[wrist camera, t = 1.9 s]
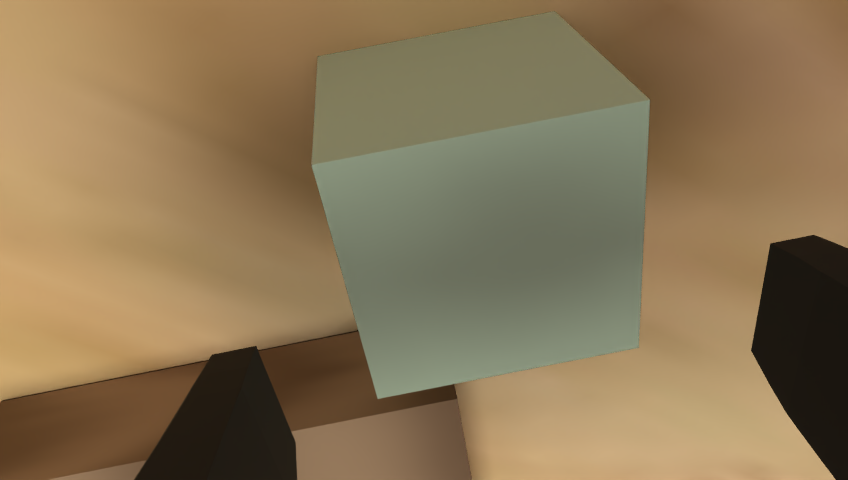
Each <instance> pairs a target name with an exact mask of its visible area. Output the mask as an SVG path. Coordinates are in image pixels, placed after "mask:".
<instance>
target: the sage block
mask: <svg viewBox="0 0 848 480" xmlns="http://www.w3.org/2000/svg"><path fill="white" fill-rule="evenodd" d="M649 111H650V99H649V98H648V97H646V96H645V95H644V94H643V93H642V92H641V91H640V90H639V89H638V88H637V87H636V86H635V85H634V84H633V83H631V82H630V81H629V80H628V79H627V78H626V77H625V76H624V75H623V74H622V73H621V72H620V71H619V70H617V69H616V68H615V67H614V66H613V65H612V64H611V63H610V62H609V61H608V60H607V59H606V58H605V57H604V56H602V55H601V54H600V53H599V52H598V51H597V50H596V49H595V48H594V47H593V46H592V45H591V44H590V43H588V42H587V41H586V40H585V39H584V38H583V37H582V36H581V35H580V34H579V33H578V32H577V31H576V30H574V29H573V28H572V27H571V26H570V25H569V24H568V23H567V22H566V21H565V20H564V19H563V18H562V17H561V16H559V15H558V14H557V13H556V12H555V11H553V12H548V13H542V14H537V15H532V16H527V17H521V18H516V19H511V20H506V21H500V22H495V23H490V24H485V25H479V26H474V27H469V28H464V29H458V30H453V31H448V32H443V33H438V34H432V35H427V36H422V37H417V38H411V39H406V40H401V41H396V42H390V43H385V44H380V45H375V46H369V47H364V48H359V49H354V50H348V51H343V52H338V53H333V54H327V55H322V56H318V60H317V77H316V95H315V112H314V130H313V147H312V169H313V172H314V176H315V179H316V183H317V186H318V190H319V193H320V197H321V200H322V204H323V207H324V211H325V214H326V218H327V222H328V225H329V229H330V232H331V236H332V239H333V243H334V246H335V250H336V253H337V257H338V260H339V264H340V267H341V271H342V275H343V278H344V282H345V285H346V289H347V292H348V296H349V299H350V303H351V306H352V310H353V313H354V317H355V320H356V324H357V328H358V331H359V335H360V338H361V342H362V345H363V349H364V352H365V356H366V359H367V363H368V366H369V370H370V373H371V377H372V381H373V384H374V388H375V391H376V395H377V398H378V399H380V398H385V397H390V396H396V395H401V394H406V393H411V392H416V391H421V390H426V389H431V388H436V387H441V386H446V385H451V384H457V383H462V382H467V381H472V380H477V379H482V378H487V377H492V376H497V375H502V374H507V373H512V372H518V371H523V370H528V369H533V368H538V367H543V366H548V365H553V364H558V363H563V362H568V361H573V360H579V359H584V358H589V357H594V356H599V355H604V354H609V353H614V352H619V351H624V350H629V349H634V348H639V330H640V308H641V286H642V264H643V242H644V220H645V199H646V177H647V155H648V133H649Z"/></svg>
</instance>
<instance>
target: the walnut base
mask: <svg viewBox="0 0 848 480" xmlns="http://www.w3.org/2000/svg"><path fill="white" fill-rule="evenodd" d="M258 352H259V354H260V357H261V359H262V361H263V364H264V366H265V369H266V371H267V374H268V376H269V379H270V381H271V383H272V386H273V388H274V391H275V393H276V396H277V398H278V400H279V403H280V405H281V408H282V410H283V413H284V415H285V418H286V420H287V422H288V425H289V427H290V430H291V432H292V435H293V437H294V439H295V442H296V462H297V480H472V478H471V472H470V467H469V461H468V456H467V450H466V445H465V439H464V434H463V429H462V423H461V418H460V412H459V407H458V401H457V396H456V391H455V387H454V384H451V385H446V386H441V387H436V388H431V389H426V390H421V391H416V392H411V393H406V394H401V395H396V396H390V397H385V398H380V399H378V398H377V395H376V391H375V388H374V384H373V381H372V377H371V373H370V370H369V366H368V363H367V359H366V356H365V352H364V349H363V345H362V342H361V338H360V335H359V331H358V332H353V333H348V334H343V335H338V336H333V337H328V338H323V339H317V340H312V341H307V342H302V343H297V344H292V345H287V346H282V347H277V348H272V349H266V350H261V351H258ZM207 362H208V361H205V362H200V363H195V364H190V365H185V366H180V367H175V368H170V369H164V370H159V371H154V372H149V373H144V374H139V375H134V376H129V377H124V378H119V379H113V380H108V381H103V382H98V383H93V384H88V385H83V386H78V387H73V388H67V389H62V390H57V391H52V392H47V393H42V394H37V395H32V396H27V397H22V398H16V399H11V400H6V401H1V403H0V480H134V479H135V477H136V476H137V474H138V472H139V471H140V469H141V468H142V466H143V465H144V463H145V462H146V460H147V459H148V457H149V455H150V454H151V452H152V451H153V449H154V448H155V446H156V445H157V443H158V441H159V440H160V438H161V436H162V435H163V433H164V432H165V430H166V428H167V427H168V425H169V424H170V422H171V420H172V419H173V417H174V415H175V414H176V412H177V410H178V409H179V407H180V406H181V404H182V402H183V401H184V399H185V397H186V396H187V394H188V392H189V391H190V389H191V387H192V386H193V384H194V382H195V381H196V379H197V378H198V376H199V374H200V373H201V371H202V369H203V368H204V366H205V365H206V363H207Z"/></svg>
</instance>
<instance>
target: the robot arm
mask: <svg viewBox="0 0 848 480" xmlns="http://www.w3.org/2000/svg"><path fill="white" fill-rule="evenodd" d="M751 351H752V353H753V355H754V357H755V358H756V360H757V362H758V364H759V366H760V368H761V369H762V371H763V373H764V375H765V377H766V379H767V381H768V382H769V384H770V386H771V388H772V389H773V391H774V393H775V394H776V396H777V398H778V399H779V401H780V403H781V405H782V406H783V408H784V410H785V411H786V413H787V414H788V416H789V417H790V419H791V420H792V421H793V423H794V424H795V426H796V427H797V428H798V430H799V431H800V432H801V434H802V435H803V436H804V438H805V439H806V440H807V442H808V443H809V444H810V446H811V447H812V448H813V450H814V451H815V452H816V454H817V455H818V457H819V458H820V459H821V461H822V462H823V463H824V465H825V466H826V467H827V469H828V470H829V471H830V472H831V474H832V475H833V476H834V478H835V479H836V480H848V248H845V247H843V246H840V245H838V244H836V243H833V242H831V241H828V240H826V239H823V238H820V237H818V236H815V235H811V236H806V237H801V238H796V239H791V240H786V241H781V242H776V243H771V244H770V249H769V255H768V261H767V266H766V272H765V277H764V283H763V288H762V294H761V299H760V305H759V310H758V316H757V321H756V327H755V333H754V338H753V344H752V349H751ZM134 480H297V462H296V442H295V439H294V437H293V435H292V432H291V430H290V427H289V425H288V422H287V420H286V418H285V415H284V413H283V410H282V408H281V405H280V403H279V400H278V398H277V396H276V393H275V391H274V388H273V386H272V383H271V381H270V379H269V376H268V374H267V371H266V369H265V366H264V364H263V361H262V359H261V357H260V354H259V352H258V349H257V347H256V346H254V347H249V348H244V349H239V350H234V351H229V352H224V353H219V354H214V355H212V356H211V357H210V359H209V360H208V362H207V363H206V365H205V366H204V368H203V369H202V371H201V373H200V374H199V376H198V378H197V379H196V381H195V382H194V384H193V386H192V387H191V389H190V391H189V392H188V394H187V396H186V397H185V399H184V401H183V402H182V404H181V406H180V407H179V409H178V410H177V412H176V414H175V415H174V417H173V419H172V420H171V422H170V424H169V425H168V427H167V428H166V430H165V432H164V433H163V435H162V436H161V438H160V440H159V441H158V443H157V445H156V446H155V448H154V449H153V451H152V452H151V454H150V455H149V457H148V459H147V460H146V462H145V463H144V465H143V466H142V468H141V469H140V471H139V472H138V474H137V476H136V477H135V479H134Z"/></svg>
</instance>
